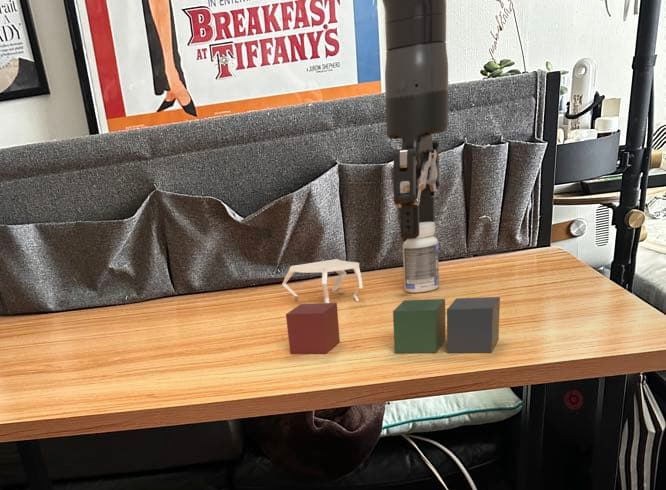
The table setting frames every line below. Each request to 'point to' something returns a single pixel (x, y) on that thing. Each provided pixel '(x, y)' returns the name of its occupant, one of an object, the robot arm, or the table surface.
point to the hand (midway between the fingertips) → (418, 232)
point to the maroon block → (313, 328)
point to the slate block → (473, 325)
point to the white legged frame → (324, 268)
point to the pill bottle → (421, 260)
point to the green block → (419, 326)
